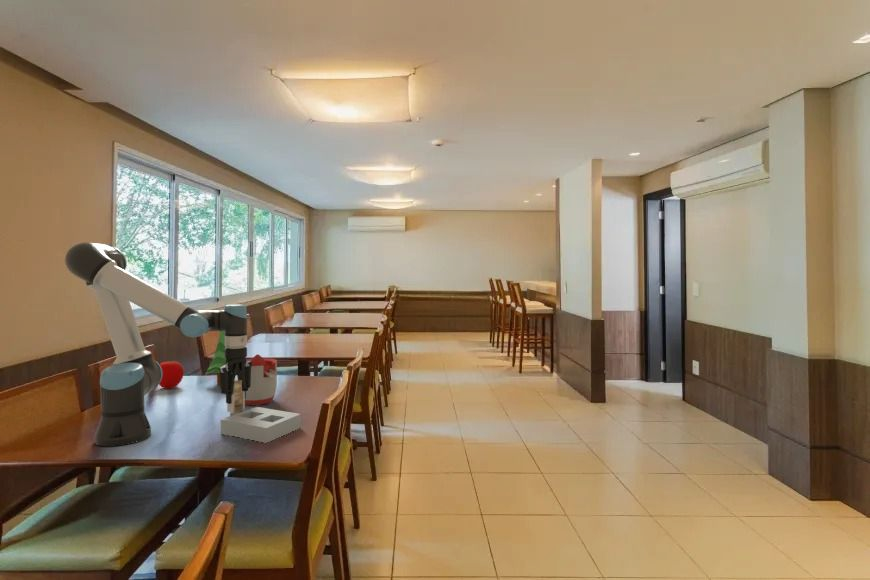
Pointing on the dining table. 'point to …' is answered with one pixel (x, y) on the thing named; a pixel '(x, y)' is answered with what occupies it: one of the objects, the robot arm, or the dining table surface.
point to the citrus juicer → (262, 381)
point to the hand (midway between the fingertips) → (236, 410)
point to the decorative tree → (218, 357)
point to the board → (260, 424)
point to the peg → (237, 397)
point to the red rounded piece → (171, 374)
